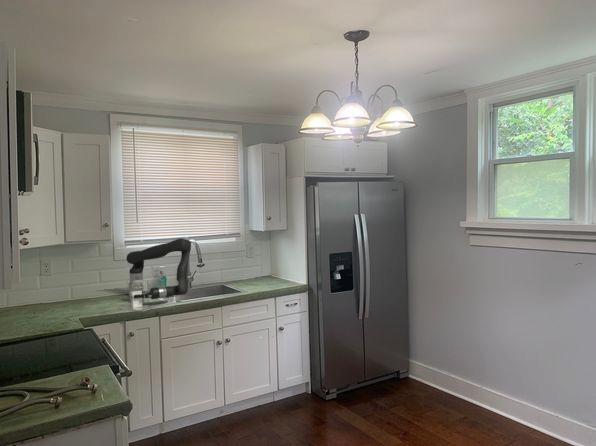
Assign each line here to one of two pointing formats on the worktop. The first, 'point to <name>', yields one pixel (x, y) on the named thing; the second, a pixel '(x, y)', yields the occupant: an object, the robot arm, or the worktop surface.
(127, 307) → the mounting plate
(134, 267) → the robot arm
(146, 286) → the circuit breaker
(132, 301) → the breaker module
